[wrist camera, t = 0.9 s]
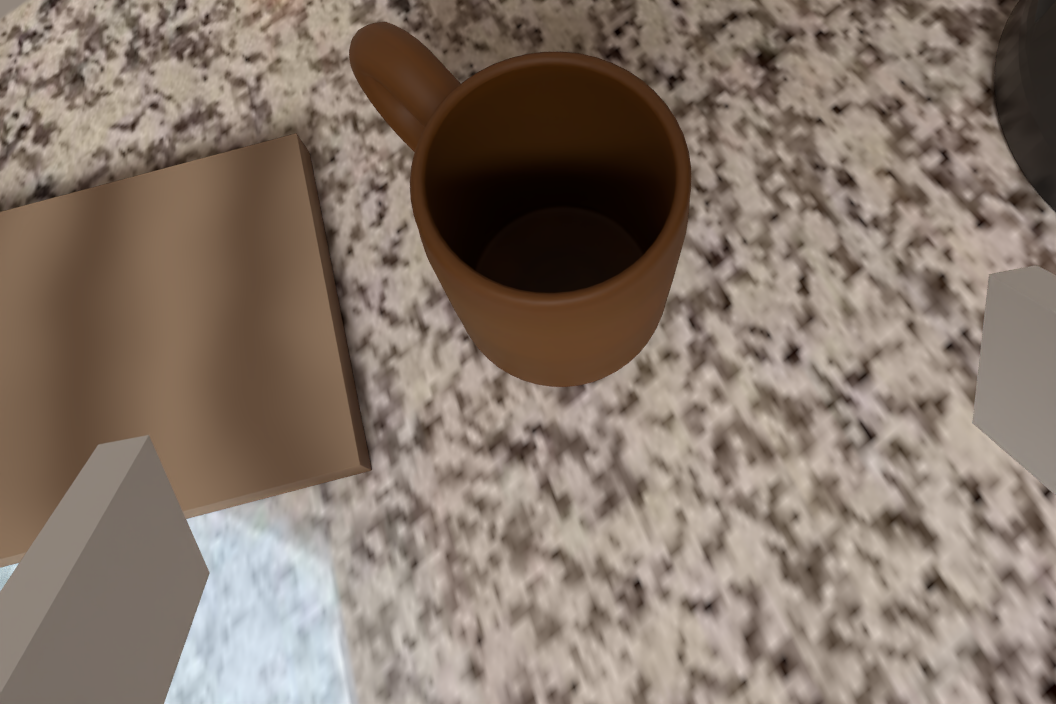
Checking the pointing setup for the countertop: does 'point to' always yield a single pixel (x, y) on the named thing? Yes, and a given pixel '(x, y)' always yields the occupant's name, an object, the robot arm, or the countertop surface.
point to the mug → (538, 199)
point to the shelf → (175, 337)
